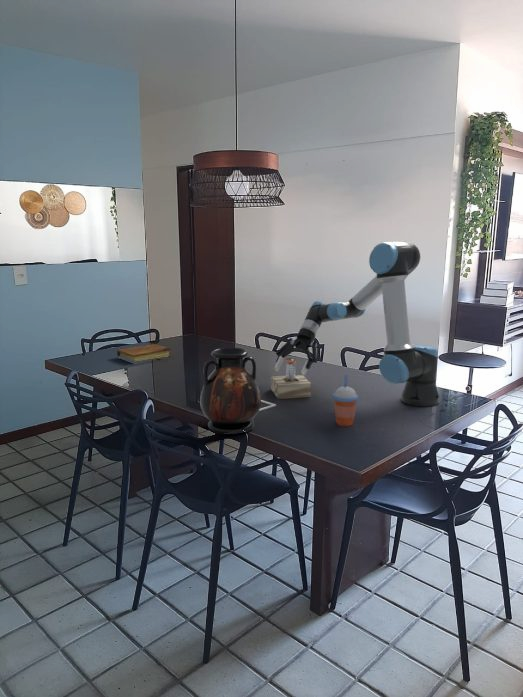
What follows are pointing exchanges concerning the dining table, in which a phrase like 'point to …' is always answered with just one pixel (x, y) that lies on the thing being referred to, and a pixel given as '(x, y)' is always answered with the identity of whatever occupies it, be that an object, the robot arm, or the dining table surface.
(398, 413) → the dining table surface
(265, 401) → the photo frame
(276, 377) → the socket block
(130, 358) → the diary
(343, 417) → the cup with straw
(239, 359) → the amphora vase
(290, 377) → the peg
